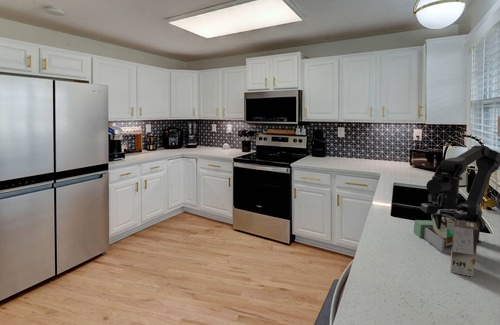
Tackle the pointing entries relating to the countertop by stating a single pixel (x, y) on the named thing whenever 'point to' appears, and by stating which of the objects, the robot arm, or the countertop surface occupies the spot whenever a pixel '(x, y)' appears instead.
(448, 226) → the food container
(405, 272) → the countertop surface
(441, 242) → the green block on stand
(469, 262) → the coffee box
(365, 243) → the countertop surface
